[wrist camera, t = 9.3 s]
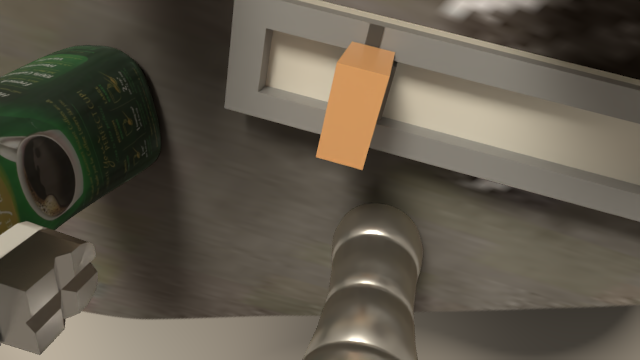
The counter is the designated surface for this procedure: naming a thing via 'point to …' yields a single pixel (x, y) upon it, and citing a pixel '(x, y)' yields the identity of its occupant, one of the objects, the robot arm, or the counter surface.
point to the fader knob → (355, 103)
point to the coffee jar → (72, 133)
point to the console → (449, 100)
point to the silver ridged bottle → (370, 288)
